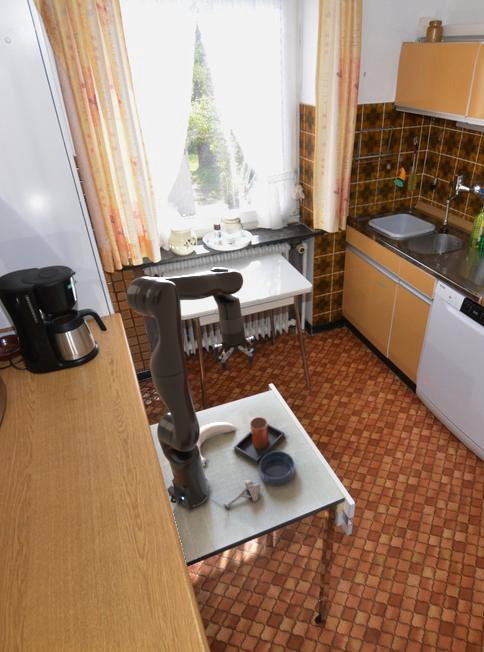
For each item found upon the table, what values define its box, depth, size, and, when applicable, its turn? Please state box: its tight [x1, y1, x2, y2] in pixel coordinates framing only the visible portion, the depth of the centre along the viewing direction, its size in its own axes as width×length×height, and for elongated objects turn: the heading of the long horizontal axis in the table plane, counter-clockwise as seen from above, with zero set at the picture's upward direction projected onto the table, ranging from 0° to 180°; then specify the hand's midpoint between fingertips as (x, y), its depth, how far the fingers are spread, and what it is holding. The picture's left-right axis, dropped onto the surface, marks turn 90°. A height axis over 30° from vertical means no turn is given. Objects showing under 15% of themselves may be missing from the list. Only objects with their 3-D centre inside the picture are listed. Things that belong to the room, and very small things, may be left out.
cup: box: [249, 416, 269, 449], centre depth 153 cm, size 6×6×10 cm
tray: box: [233, 423, 286, 466], centre depth 155 cm, size 15×11×2 cm
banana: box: [197, 421, 236, 467], centre depth 156 cm, size 5×19×15 cm
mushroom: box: [224, 479, 261, 509], centre depth 136 cm, size 7×5×12 cm
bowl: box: [258, 450, 295, 487], centre depth 144 cm, size 11×11×4 cm
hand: (237, 366), depth 148 cm, fingers open, 8 cm apart
